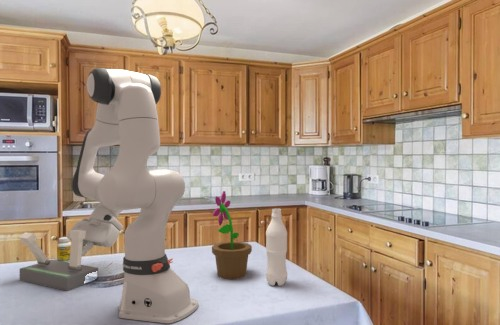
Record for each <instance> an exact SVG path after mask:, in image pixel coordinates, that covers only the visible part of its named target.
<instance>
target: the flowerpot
mask: <svg viewBox="0 0 500 325" xmlns="http://www.w3.org/2000/svg"><path fill="white" fill-rule="evenodd" d="M226 198H227V194H226V191H225V190H223V191H222V193H221V196H217V195H216V196H215V198H214V199H215V201H214V202H215V204H216V206H217V208H216V209H214V211H213V213H212V215H213V217H218V220H217V221H218V226H221V227H220V228H218V230H217V231H218V233H220V234H223V235H224V234H230V241H223V242H218V243H215V244H214V245H212V246H211V253H212V254H213V255H214V257H215V264H216V271H217V276H218V277H219V278H220V277H221V279H224V280H238V279H237V278H239V279H242V278H244V276H246V275H247V271H248V270H247V268H248V261H249V255H251V253H252V251H253V249H252V248H253V247H252V245H251V244H250V243H248V242H243V241H234V240H235V239H238V237H239V235H240V233H239V232H234V228H233V221H232V217H231V215H230V214H229V210H228V208H229V207H230V206H231V200H228V199H227V200H226ZM218 207H219V208H218ZM224 219H225V220H228V224H227V223H226V224H224V225H223V226H222V224H223V222H224ZM241 277H242V278H241Z"/></svg>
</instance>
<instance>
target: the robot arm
mask: <svg viewBox="0 0 500 325" xmlns="http://www.w3.org/2000/svg"><path fill="white" fill-rule="evenodd" d="M86 89H87V90H86V91H87V94H88V96H89V98H90V99H91V100H92V101H93V103H94V102H95V103H97V106H96V113H95V122H94V125H93V127H92V128H91V129H88V131H87V132H86V133H85V135H84V137H83V141H82V144H81V149H80V153H79V156H78V160H77V165H76V169H75V172H74V174H73V176H72V179H71V182H70V185H71V186H70V187H71V189H72V192H73V194H74V195H75V196H77V197H79V198H84V199H90V200H93V201H96V202H99V204H97V206H95V207H94V209H93V211H92V212H91V214H90V215H89V216H88V218H83V219H81V220H79V221H77V222H76V223H75V224H74V225H73V226H72V227H71V228H70V230H83V231H86V234H85V239H83V245H82V256H85V255H86V254H87V253H88V252H89V251H90V250H92V249H93V248H94V247H95V246H96V247H102V248H111V247H113V245H114V244H115V243H116V241H117V239H118V238H119V236H120V232H122V230H123V229H124V225H123V224H122V223H121V221H119V220H118V219H119V215H120V214H121V213H122V212H123V211H129V210H137V209H140V212H139V214H138V216H137V217H136V219H134V221H132V222H130V224H128V225H127V227H126V229H125V231H124V256H123V258H122V259H123V260H122V270H123V273H124V275H123V284H122V291H121V298H120V302H119V306H118V310H119V313H118V317H119V318H120V319H127V320H135V321H145V322H151V323H152V322H153V323H158V324H159V323H161V324H172V323H177V322H179V321H181V320H183V319H185V318H187V317H189V316H190V315H191V314H192V313H195V311H196V310H197V309H198V307H199V301H198V300H197V299H193V298H191V294H190V292H191V291H190V288H189V286H188V284H187V283H186V282H185V281H184V280H183V279H182V278H181V277H180V276H179V275H178V274H177V273H176V272H175V271H174V270H172V268H171V265H170V264H171V263H174V262H173V260H174V258H169V259H168V256H167V254H166V230H167V229H166V228H167V224H168V221H169V217H170V215H171V213H172V211H173V209H174V207H175V205H176V204H177V203H178V202H179V201H180V200H181V199H182V198H183V197H184V194H185V190H186V183H185V180H184V177H183V176H182V174H181V173H180V172H178V171H176V170H172V169H168V168H147V166H148V165H147V164H148V161H149V158H150V157H151V156H153V155H154V154H155V153H157V152H158V150H159V149H160V147H161V136H160V135H161V134H160V123H159V116H158V108H157V104H158V103H159V102H160V100H161V98H162V96H161V95H162V85H161V83H160V81H159V79H158V77H156V76H154V75H151V74H149V73H145V74H144V73H141V72H136V71H132V70H131V71H129V70H127V69H118V68H116V69H115V68H105V67H100V68H98V67H97V68H93V69H92V70H91V71H90V72H89V73H88V77H87V80H86ZM116 145H119V150H118V154H117V158H116V160H115V163H114V164H113V166H112V168H111V169H109V171H108V172H107V173H105V174H102V173H99V172H96V171H95V169H94V165H95V161H96V158H97V153H98V151H99V150H100V148H104V147H112V146H116ZM70 230H69V231H68V232H67V233H66V237H67V238H68V239H69V240H70V241H71V239H72V238H70Z"/></svg>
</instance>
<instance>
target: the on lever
mask: <svg viewBox="0 0 500 325" xmlns="http://www.w3.org/2000/svg"><path fill="white" fill-rule="evenodd" d="M18 239H19V240H20V242H22V244H25V245H26V247H27V248H28V249H29V251H30V252H31V254H32V255H33V257H34V258H35V260H36V261H37V263H36V264H38V263H39V264H44V265H49V264H50V260H51V259H49V258H47V256H46V254H45V253H44V251H43V249H42V248H41V246H40V245H39V244H38V242H37V240H38V237H36V235H35V234H34V233H33V232H26V231H25V232H24V233H23V234H21V235H20V236H19V237H18Z"/></svg>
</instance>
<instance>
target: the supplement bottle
mask: <svg viewBox="0 0 500 325" xmlns="http://www.w3.org/2000/svg"><path fill="white" fill-rule="evenodd" d="M70 251H71V240H69V239H68V238H67V236H62V237H59V238H58V243H57V245H56V252H57V253H56V257H57V259H56V260H57V261H63V262H68V263H70Z"/></svg>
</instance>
